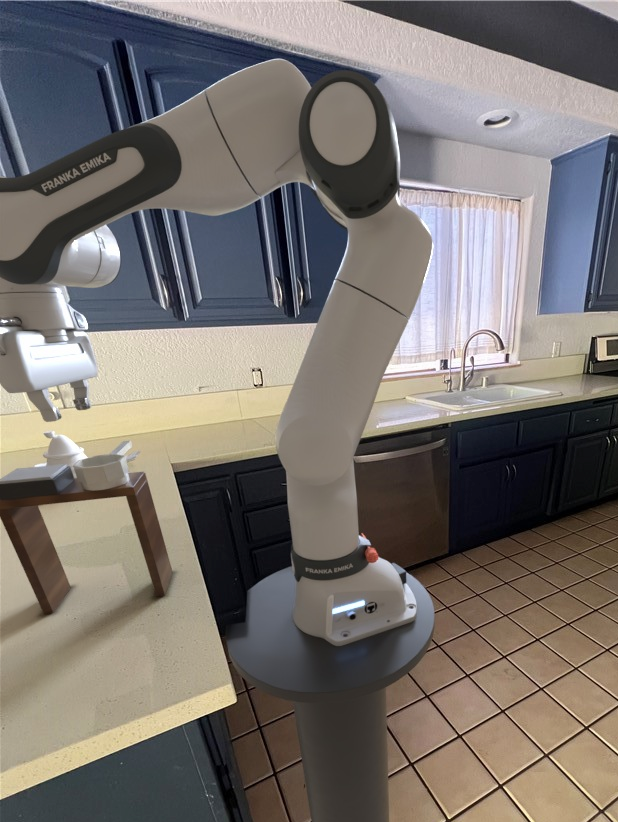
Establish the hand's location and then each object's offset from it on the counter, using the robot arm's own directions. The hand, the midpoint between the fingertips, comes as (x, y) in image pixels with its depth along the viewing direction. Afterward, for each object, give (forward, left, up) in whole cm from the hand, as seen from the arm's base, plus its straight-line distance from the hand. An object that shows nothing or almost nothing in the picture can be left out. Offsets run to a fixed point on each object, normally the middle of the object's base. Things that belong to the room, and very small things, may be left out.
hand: (70, 414), depth 67 cm
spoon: (+34, -86, -34) cm, 99 cm away
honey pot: (+31, -65, -34) cm, 80 cm away
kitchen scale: (+8, -1, -12) cm, 14 cm away
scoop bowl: (-2, -7, -12) cm, 14 cm away
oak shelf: (+3, -1, -34) cm, 34 cm away
